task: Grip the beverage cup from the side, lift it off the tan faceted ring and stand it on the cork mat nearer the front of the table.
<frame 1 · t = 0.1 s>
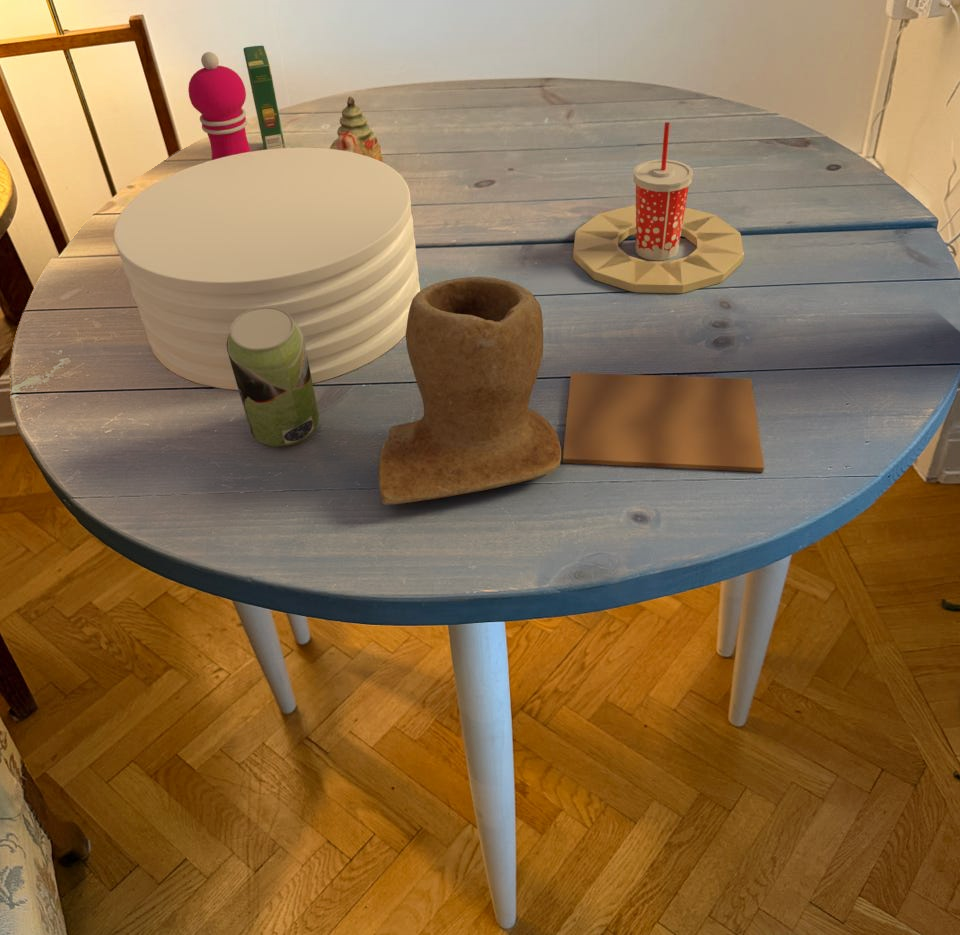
tan faceted ring: (656, 250, 102), on the table
ornament: (357, 178, 120), on the table
plate stack: (286, 311, 97), on the table
beverage cup: (656, 251, 102), resting in tan faceted ring
stone cup: (466, 460, 77), on the table
cork mat: (660, 421, 80), on the table
beverage can: (288, 436, 81), on the table
pepper mill: (249, 228, 111), on the table
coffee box: (276, 155, 127), on the table
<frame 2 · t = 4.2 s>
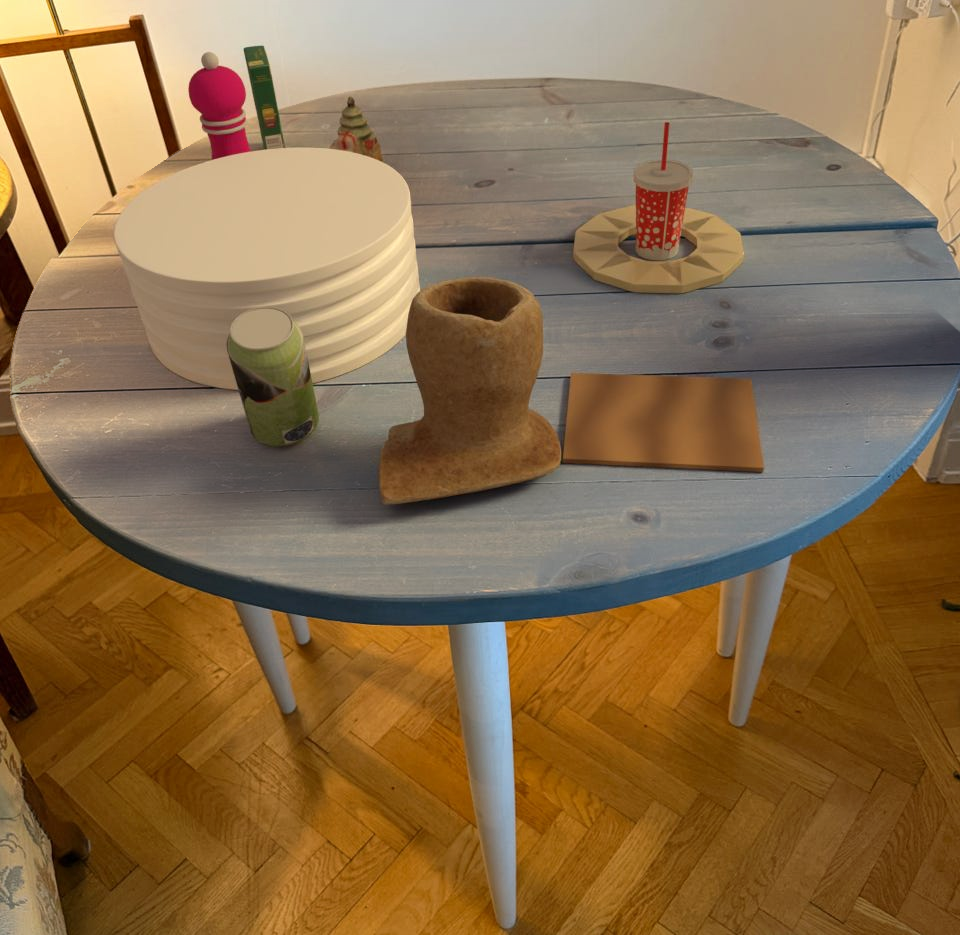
nothing on the table moved.
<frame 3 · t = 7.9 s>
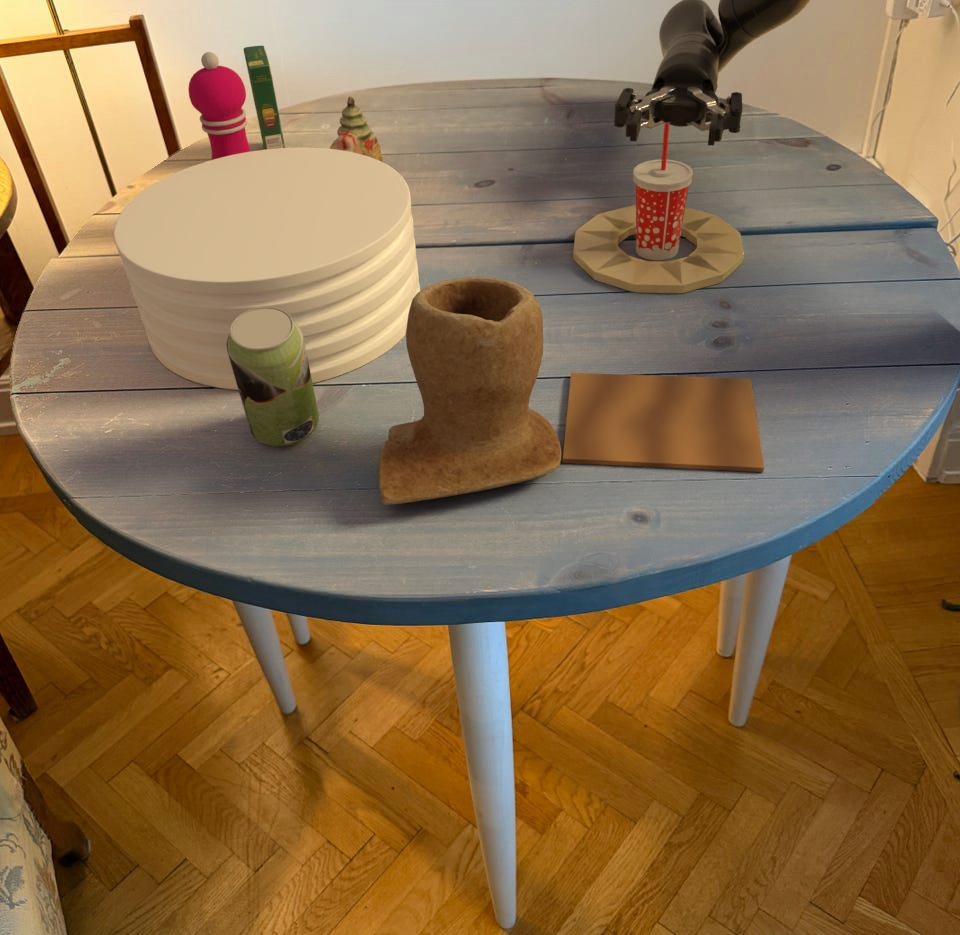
hand: (672, 135, 102), 9 cm above the table, tool horizontal, fingers open, 8 cm apart
nothing on the table moved.
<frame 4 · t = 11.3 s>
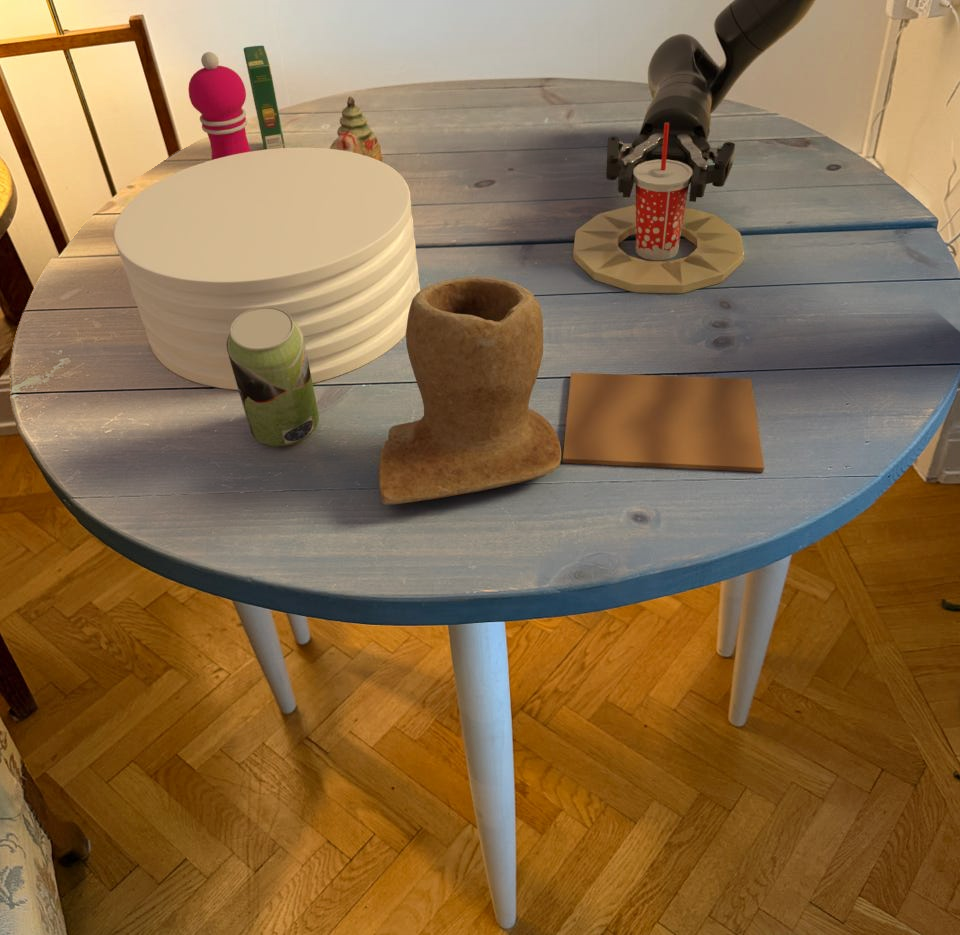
hand: (659, 190, 95), 8 cm above the table, tool horizontal, fingers closed on beverage cup, 6 cm apart
beverage cup: (656, 251, 102), resting in tan faceted ring, touching gripper
everything else where it was.
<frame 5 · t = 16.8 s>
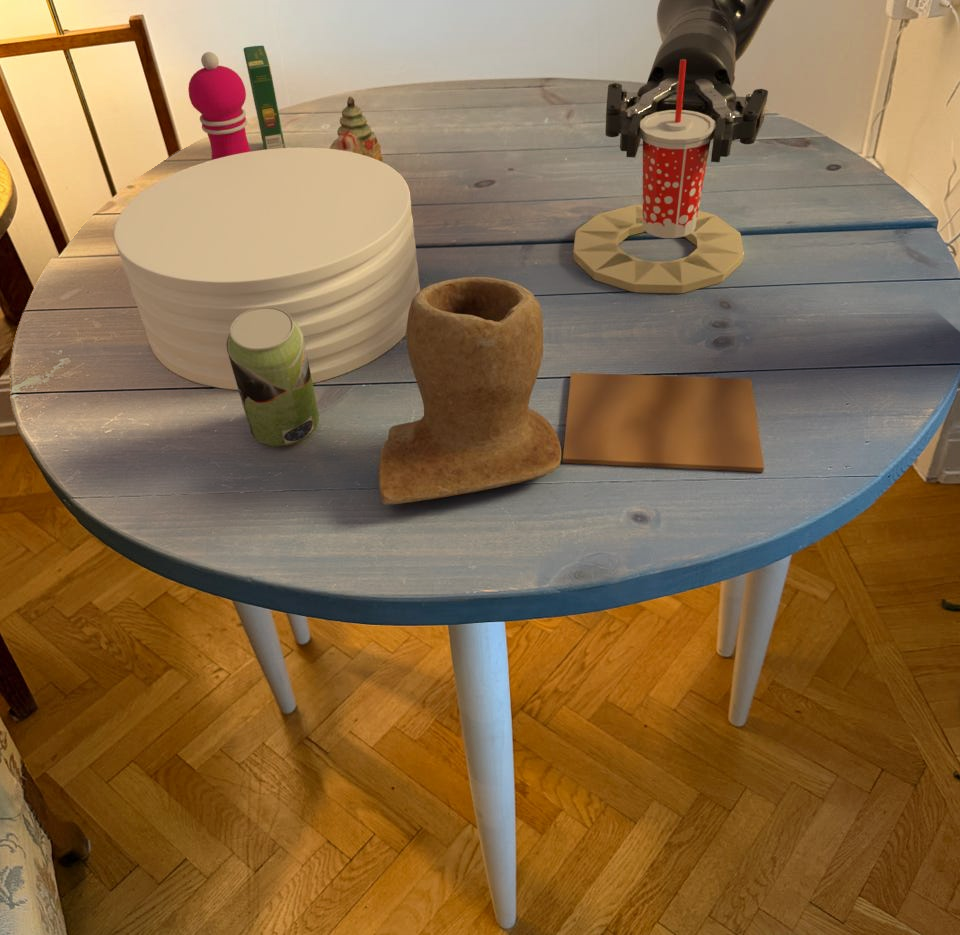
hand: (673, 148, 74), 20 cm above the table, tool horizontal, fingers closed on beverage cup, 6 cm apart
beverage cup: (668, 227, 81), point 12 cm above the table, touching gripper
everything else where it was.
when the fingers open (8 cm above the table, at t = 22.1 s): beverage cup stays where it is, resting on cork mat.
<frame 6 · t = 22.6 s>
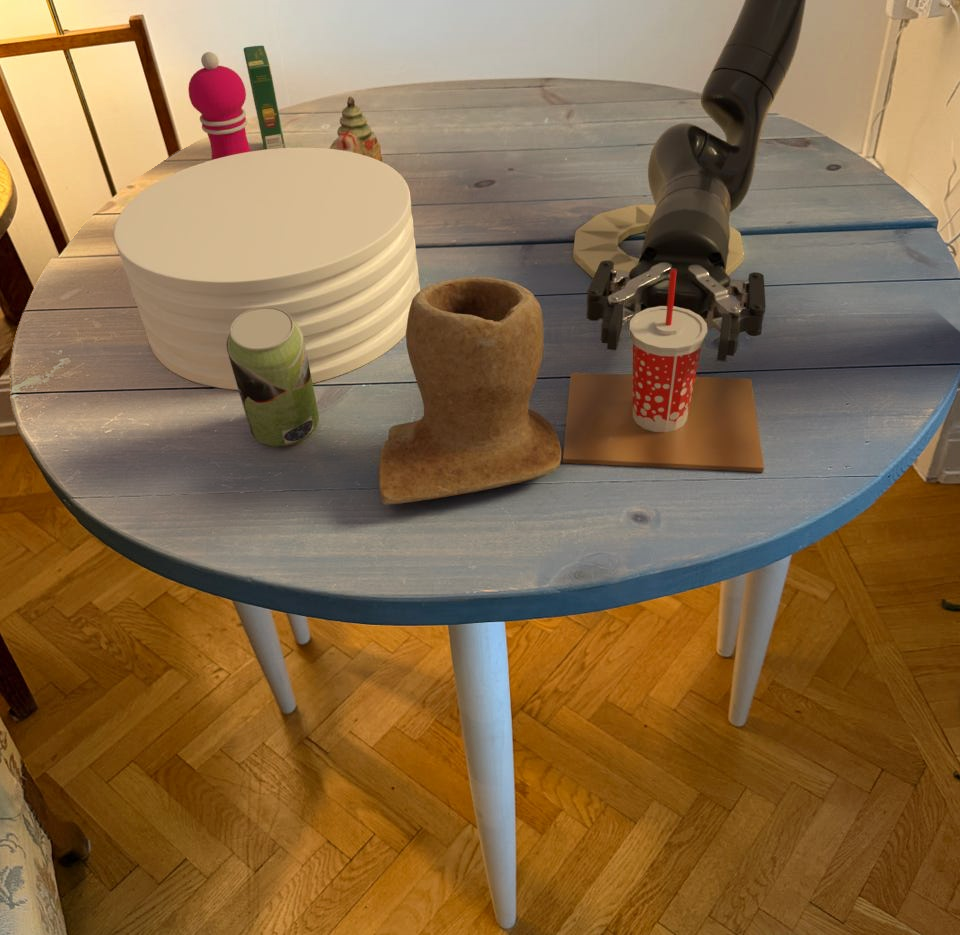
hand: (666, 346, 72), 9 cm above the table, tool horizontal, fingers open, 8 cm apart
beverage cup: (659, 417, 80), resting on cork mat
everything else where it was.
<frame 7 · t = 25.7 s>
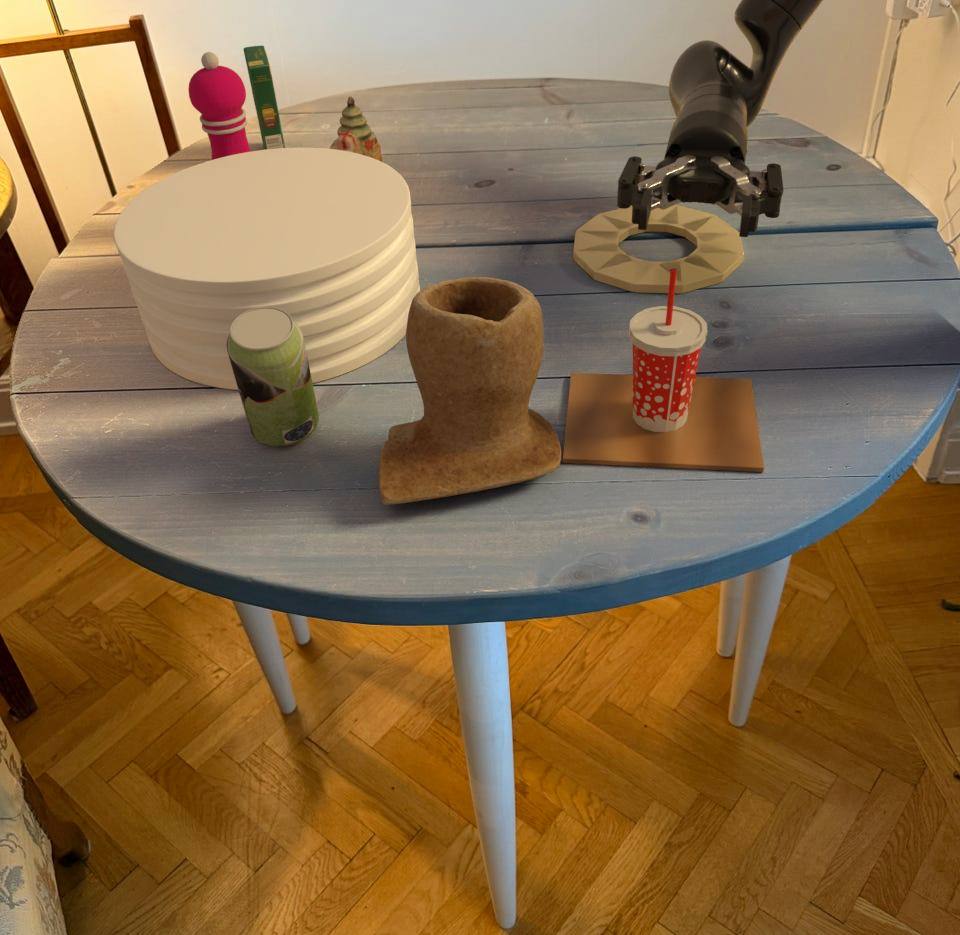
hand: (693, 223, 79), 13 cm above the table, tool horizontal, fingers open, 8 cm apart
nothing on the table moved.
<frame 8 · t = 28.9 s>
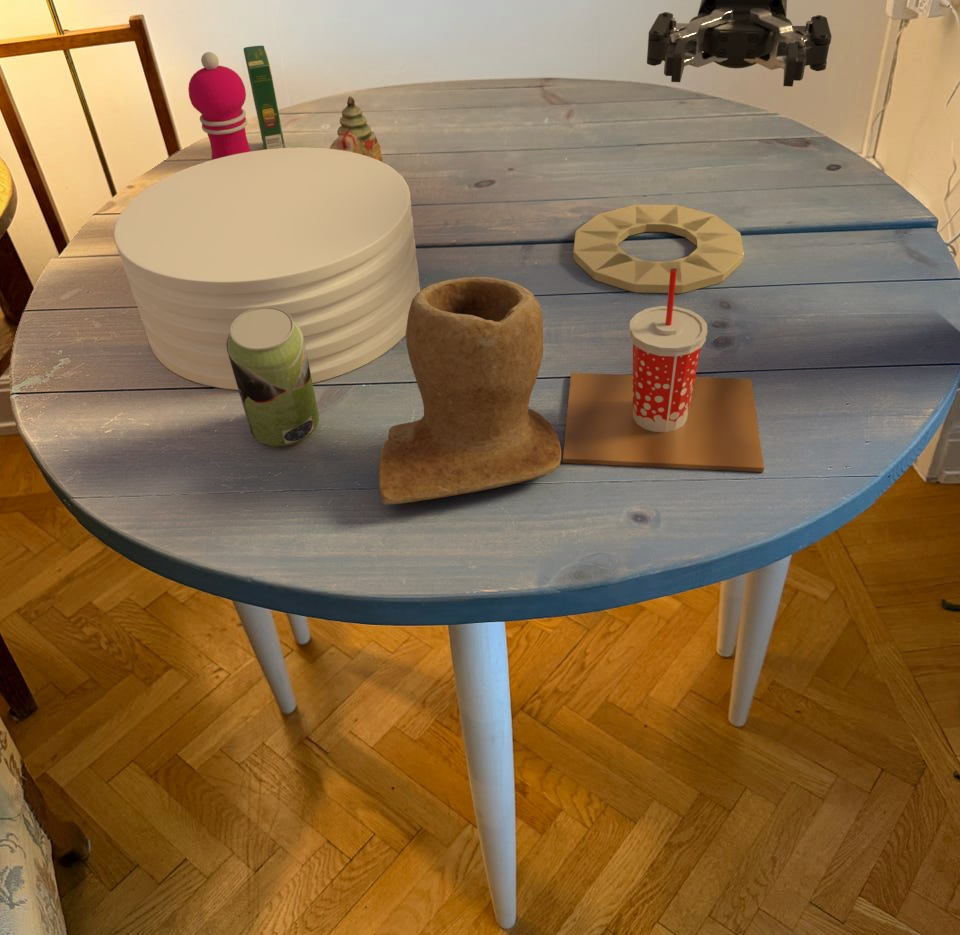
hand: (732, 71, 72), 25 cm above the table, tool horizontal, fingers open, 8 cm apart
nothing on the table moved.
at the end: beverage cup inside the target area on the cork mat (0.2 cm from its centre), point 0.3 cm above the cork mat's base; beverage cup tilted 0°; beverage cup touching cork mat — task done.
